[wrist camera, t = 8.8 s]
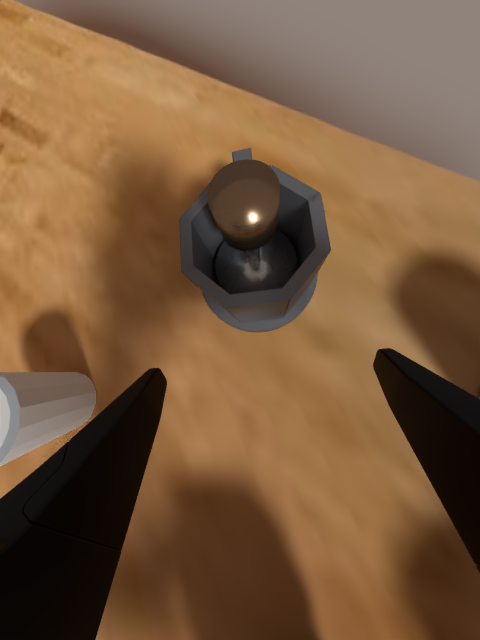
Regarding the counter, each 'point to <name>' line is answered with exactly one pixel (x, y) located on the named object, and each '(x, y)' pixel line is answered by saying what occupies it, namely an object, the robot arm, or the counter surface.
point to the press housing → (293, 221)
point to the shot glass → (41, 408)
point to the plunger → (249, 229)
